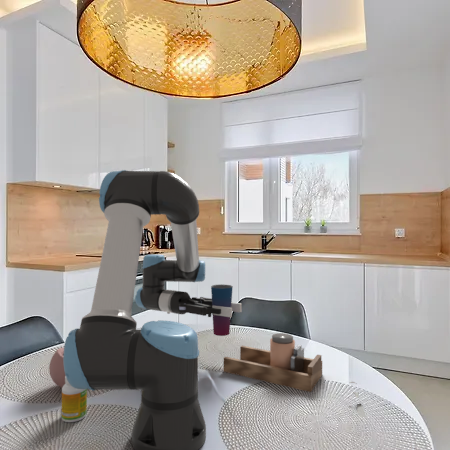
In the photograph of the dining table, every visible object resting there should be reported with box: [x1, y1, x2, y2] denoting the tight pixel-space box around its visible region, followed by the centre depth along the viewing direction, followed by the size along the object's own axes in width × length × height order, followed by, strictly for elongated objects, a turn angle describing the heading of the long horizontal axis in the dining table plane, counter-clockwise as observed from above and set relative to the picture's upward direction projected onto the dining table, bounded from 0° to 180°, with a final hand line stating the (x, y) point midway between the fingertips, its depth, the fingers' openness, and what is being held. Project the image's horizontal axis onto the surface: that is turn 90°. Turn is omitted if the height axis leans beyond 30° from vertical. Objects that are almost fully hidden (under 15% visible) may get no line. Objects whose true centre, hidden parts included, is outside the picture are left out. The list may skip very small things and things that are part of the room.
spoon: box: [349, 381, 367, 417], centre depth 89 cm, size 4×21×2 cm, turn 168°
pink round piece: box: [48, 347, 66, 389], centre depth 97 cm, size 12×12×12 cm
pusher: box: [291, 344, 305, 373], centre depth 101 cm, size 1×9×9 cm, turn 151°
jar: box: [269, 332, 296, 370], centre depth 103 cm, size 7×7×11 cm
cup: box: [210, 284, 233, 337], centre depth 113 cm, size 7×7×15 cm
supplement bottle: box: [61, 376, 88, 423], centre depth 82 cm, size 5×5×10 cm
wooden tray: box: [223, 345, 323, 393], centre depth 104 cm, size 26×12×7 cm, turn 61°
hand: (236, 310), depth 110 cm, fingers closed on cup, 6 cm apart
